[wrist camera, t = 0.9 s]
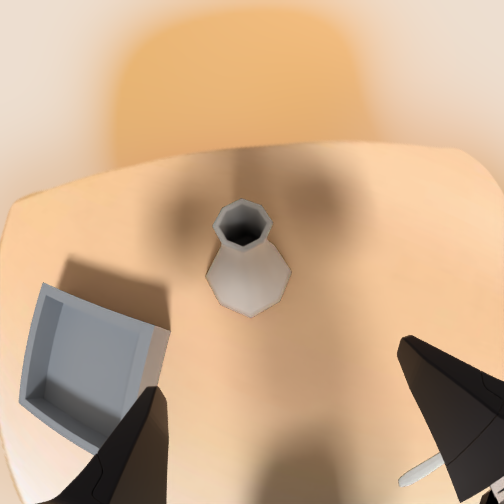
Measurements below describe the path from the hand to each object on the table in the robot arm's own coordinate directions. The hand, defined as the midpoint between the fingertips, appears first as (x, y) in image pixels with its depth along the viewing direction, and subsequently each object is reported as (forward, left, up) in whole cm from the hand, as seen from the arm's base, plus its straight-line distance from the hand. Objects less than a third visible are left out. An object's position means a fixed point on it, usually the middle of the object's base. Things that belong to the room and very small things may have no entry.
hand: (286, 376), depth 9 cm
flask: (+7, +3, -14) cm, 16 cm away
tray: (-6, +15, -14) cm, 22 cm away
